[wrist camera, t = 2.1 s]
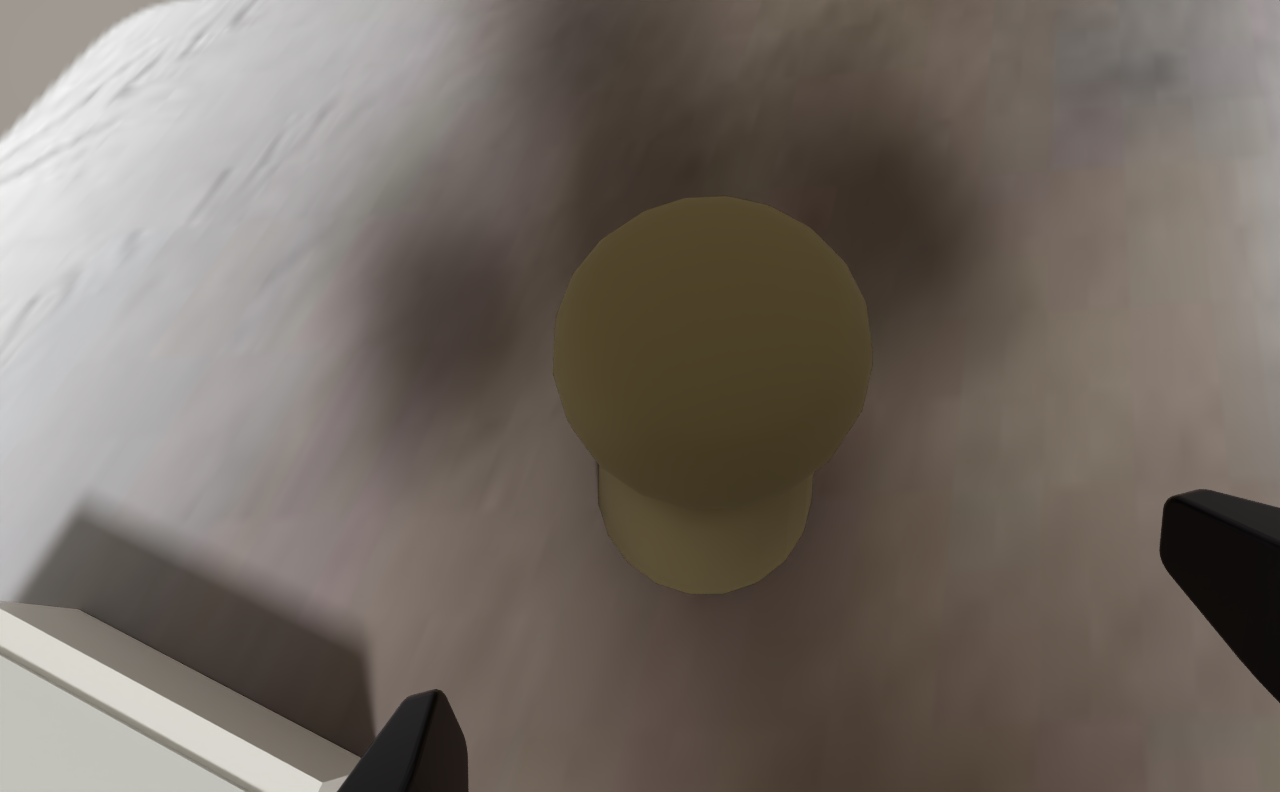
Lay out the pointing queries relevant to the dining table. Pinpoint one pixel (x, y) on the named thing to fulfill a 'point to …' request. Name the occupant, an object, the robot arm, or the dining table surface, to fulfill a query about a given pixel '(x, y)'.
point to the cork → (710, 384)
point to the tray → (137, 718)
